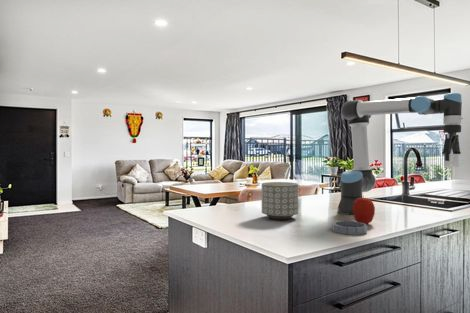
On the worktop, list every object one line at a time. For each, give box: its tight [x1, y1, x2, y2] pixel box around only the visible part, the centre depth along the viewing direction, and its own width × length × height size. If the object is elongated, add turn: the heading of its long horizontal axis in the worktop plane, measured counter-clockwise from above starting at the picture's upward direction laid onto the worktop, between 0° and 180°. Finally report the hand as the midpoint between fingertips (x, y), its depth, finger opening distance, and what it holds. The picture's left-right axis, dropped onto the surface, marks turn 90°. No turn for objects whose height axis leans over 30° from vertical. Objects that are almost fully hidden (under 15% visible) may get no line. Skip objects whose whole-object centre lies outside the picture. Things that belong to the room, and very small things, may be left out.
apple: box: [353, 195, 376, 225], centre depth 162 cm, size 10×10×14 cm
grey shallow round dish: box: [332, 220, 368, 236], centre depth 148 cm, size 14×14×3 cm
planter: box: [261, 181, 299, 221], centre depth 177 cm, size 19×19×18 cm
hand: (451, 167), depth 169 cm, fingers open, 13 cm apart
